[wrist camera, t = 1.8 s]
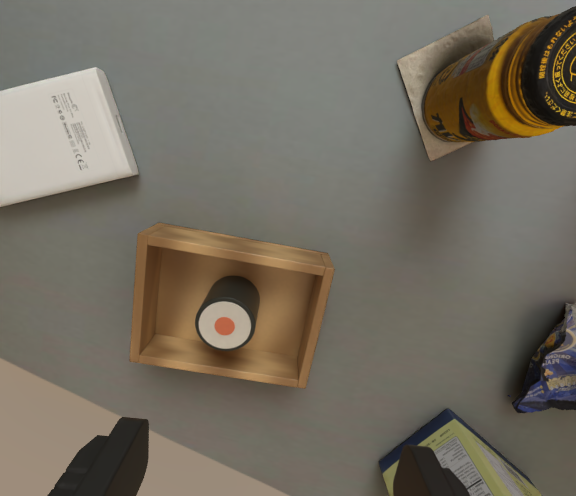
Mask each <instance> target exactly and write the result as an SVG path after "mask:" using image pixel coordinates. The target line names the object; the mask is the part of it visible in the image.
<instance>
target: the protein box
mask: <svg viewBox="0 0 576 496" xmlns="http://www.w3.org/2000/svg"><path fill="white" fill-rule="evenodd" d="M404 445H416V446H427V447H430V448H431V449H432V450H433V451H434V453H435V455H436V457H437V459H438V461H439V463H440V465H441V467H442V468H449V469H450V470H451V471H452V472H453V473H454V474H455V475H456V476H457V477H458V479H459V480H460V481H461V482H462V483H463V484H464V485H465V487H466V488H467V490H468V492H469V494H470V496H542V495H541V494H540V492H539V491H538V490H537V489H536V487H535V486H534V485H533V483H532V482H531V481H530V479H529V478H528V477H527V476H525V475H524V474H523V473H522V472H521V471H520V470H518V469H517V468H516V467H515V466H514V465H513V464H512V463H510V462H509V461H508V460H507V459H506V458H505V457H504V456H502V455H501V454H500V453H499V452H498V451H497V450H496V449H495V448H493V447H492V446H491V445H490V444H489V443H488V442H487V441H485V440H484V439H483V438H482V437H481V436H480V435H479V434H477V433H476V432H475V431H474V430H473V429H472V428H471V427H469V426H468V425H467V424H466V423H465V422H464V421H463V420H462V419H460V418H459V417H458V416H457V415H456V414H455V413H453V412H452V411H451V410H450V409H446V410H445V411H443V412H442V413H441V414H440V415H438V416H437V417H436V418H434V419H433V420H432V421H431V422H429V423H428V424H427V425H426V426H424V427H423V428H422V429H420V430H419V431H418V432H416V433H415V434H414V435H413V436H411V437H410V438H409V439H407V440H406V441H405V442H404V443H403V444H401V445H400V446H399V447H397V448H396V449H395V450H394V451H392V452H391V453H390V454H388V455H387V456H386V457H384V458H383V459H382V460H381V461H379V465H380V468H381V471H382V474H383V477H384V480H385V484H386V487H387V490H388V493H389V496H393V480H394V476H395V473H396V469H397V466H398V462H399V459H400V455H401V452H402V449H403V446H404Z"/></svg>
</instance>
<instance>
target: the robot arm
mask: <svg viewBox="0 0 576 496" xmlns="http://www.w3.org/2000/svg"><path fill="white" fill-rule="evenodd" d="M148 433H149V422H148V420H147V419H138V418H128V417H122V418H121V419H120V420H119V421H118V422H117V424H116V425H115V427H114V428H113V430H112V432H111V434H110V435H109V436H100V435H97V436H96V437H95V438H94V439H93V440H91V441H90V442H89V443H88V444H87V445H85V446H84V447H83V448H82V449H81V450H79V452H78V453H77V454H76V456H75V457H74V459H73V460H72V462H71V463H70V464H69V466H68V467H67V469H66V472H65V473H63V475H62V476H61V477H60V479H59V480H58V482H57V483H56V484H55V487H54V489H52V490H51V492H50V493H49V494H48V496H136V495H137V492H138V490H139V488H140V486H141V483H142V481H143V478H144V475H145V472H146V468H147V463H148V441H149V439H148V438H149V434H148ZM393 496H470V494H469V492H468V490H467V488H466V487H465V485H464V484H463V483H462V482H461V481H460V480H459V479H458V477H457V476H456V475H455V474H454V473H453V472H452V471H451V470H450V469H449V468H442V467H441V465H440V463H439V461H438V459H437V457H436V455H435V453H434V451H433V450H432V449H431V448H430V447H427V446H416V445H404V446H403V449H402V452H401V455H400V459H399V462H398V466H397V469H396V473H395V476H394V480H393Z"/></svg>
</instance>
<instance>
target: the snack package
mask: <svg viewBox="0 0 576 496" xmlns="http://www.w3.org/2000/svg"><path fill="white" fill-rule="evenodd" d="M565 304H566V306H565V308H566V309H565V310H566V314H565V315H564V316H565V319H563V320H562V322H561V323H560V324H558V325H557V326H555V329H554V330H553V331H552V333H550V334H549V335H550V336H549V337H548V338H547V339H546V340H545V341H544V343H543V344H542V345H541V347H540V348H539V349H538V351H537V352H536V353H535V354H534V355H533V357H532V359H531V361H530V365H529V369H528V372H527V375H526V380H525V382H524V385H523V389H522V392H521V394H520V395H519V396H518V397H517V398H516V400H515V401H513V402H512V405H513V407H514V409H515V410H516V411H517V412H518V413H526V412H531V413H532V412H534V411H542V410H546V409H549V408H551V407H553V408H554V407H555V408H558V409H562V410H564V409H566V410H576V303H575V304H568V303H565ZM508 396H509V395H508ZM509 397H511V396H509Z"/></svg>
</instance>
